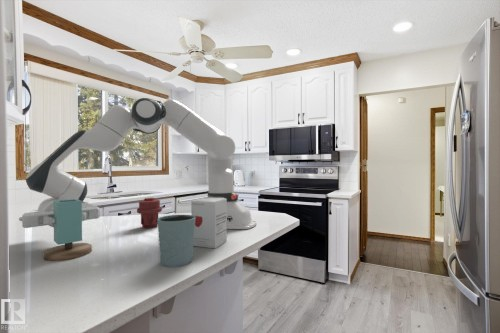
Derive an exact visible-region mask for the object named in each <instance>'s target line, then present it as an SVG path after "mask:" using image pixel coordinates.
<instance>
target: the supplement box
mask: <svg viewBox="0 0 500 333" xmlns="http://www.w3.org/2000/svg"><path fill="white" fill-rule="evenodd" d="M207 197H208V196H207ZM207 197H206V196H205V197H200V198H197V199H192V200H191V206H190V208H191V213H190V215H192V216H195V218H196V219H195V228H194V246H193V247H201V248H206V249H207V248H208V249H217V248H218V247H219V246H221V245H223V244H224V243H226V242H227V237H228V236H227V230H228V229H227V199H226V198H207Z"/></svg>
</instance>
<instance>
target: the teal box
mask: <svg viewBox="0 0 500 333" xmlns="http://www.w3.org/2000/svg"><path fill="white" fill-rule="evenodd" d="M54 217H55V218H56V224H54V227H53V242H55V244H56V245H57V246H60V245H65V244H66V243H71V242H73V243H78V242H82V241H83V221H82V201H81V200H78V199H71V200H58V201H54Z"/></svg>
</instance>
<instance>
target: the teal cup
mask: <svg viewBox="0 0 500 333" xmlns="http://www.w3.org/2000/svg"><path fill="white" fill-rule="evenodd" d="M195 219H196V218H195V216H192V214H171V215H163V216H159V217H158V219H157V222H158V227H157V230H158V231H157V232H158V242H159V252H160V254H159V256H160V257H159V258H160V263H161V265H162V266H163V267H168V268H176V267H183V266H187V265H189V264H191V263H192V262H193V259H194V247H195V246H194V228H195Z"/></svg>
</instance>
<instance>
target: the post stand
mask: <svg viewBox="0 0 500 333" xmlns="http://www.w3.org/2000/svg"><path fill="white" fill-rule="evenodd" d="M92 248H93V246H92V244H91V243H87V242H71V243H66V244H60V245H57V246H52V247H50V248H48V249H45V251H43V259H44V260H45V261H48V260H50V261H49V262H56V261H57V262H59V261H68V260H73V259H78V258H81V257H83V256H86V255H89V254H90V253H92V251H93V249H92Z"/></svg>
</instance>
